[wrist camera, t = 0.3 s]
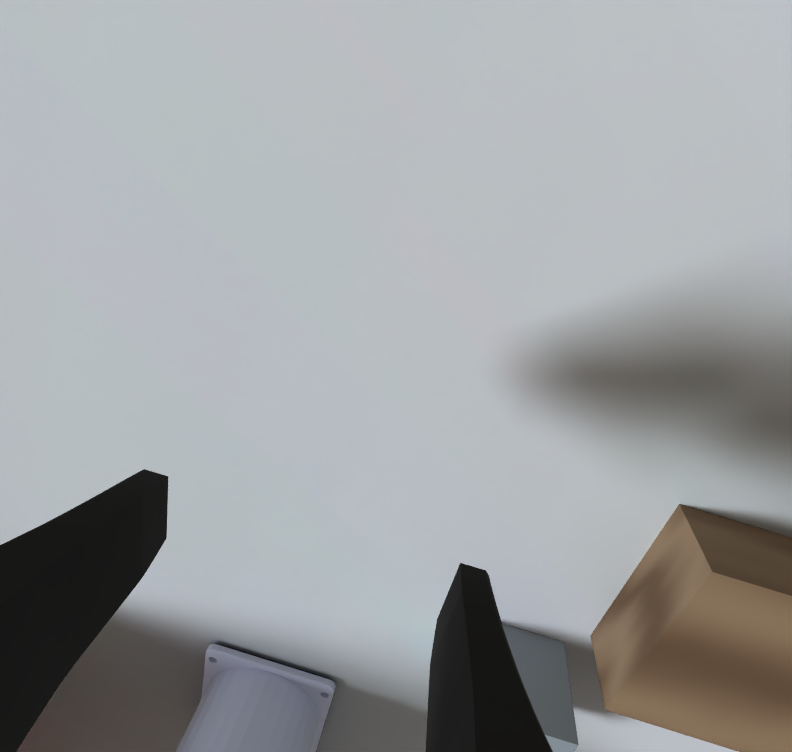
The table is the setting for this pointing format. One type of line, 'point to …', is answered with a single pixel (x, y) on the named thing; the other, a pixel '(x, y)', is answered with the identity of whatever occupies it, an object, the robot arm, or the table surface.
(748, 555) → the walnut block
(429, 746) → the robot arm
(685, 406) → the table surface
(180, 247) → the table surface
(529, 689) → the slate cube
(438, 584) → the table surface
